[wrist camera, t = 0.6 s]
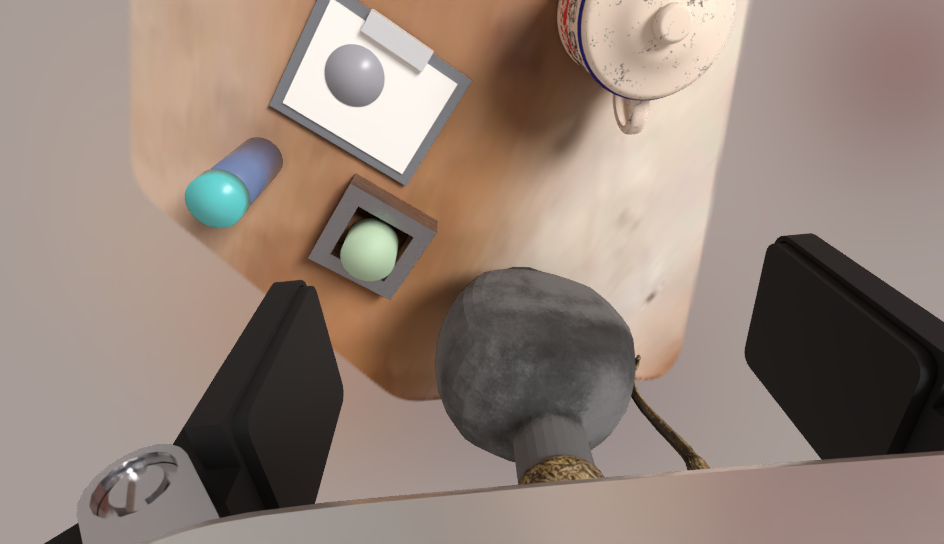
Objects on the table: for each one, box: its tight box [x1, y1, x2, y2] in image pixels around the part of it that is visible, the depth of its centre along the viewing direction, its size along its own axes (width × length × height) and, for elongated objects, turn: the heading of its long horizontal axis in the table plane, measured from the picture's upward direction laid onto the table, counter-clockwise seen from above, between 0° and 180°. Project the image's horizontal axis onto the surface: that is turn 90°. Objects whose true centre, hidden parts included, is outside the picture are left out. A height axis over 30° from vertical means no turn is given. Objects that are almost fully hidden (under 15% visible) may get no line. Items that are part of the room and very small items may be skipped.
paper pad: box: [270, 0, 472, 186], centre depth 38 cm, size 12×10×1 cm
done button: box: [340, 218, 399, 281], centre depth 42 cm, size 4×4×3 cm
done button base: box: [308, 174, 437, 300], centre depth 44 cm, size 8×8×2 cm
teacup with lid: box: [557, 0, 736, 134], centre depth 32 cm, size 12×9×12 cm
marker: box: [185, 138, 283, 228], centre depth 37 cm, size 4×4×10 cm
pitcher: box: [435, 267, 710, 485], centre depth 36 cm, size 11×19×30 cm, turn 78°
